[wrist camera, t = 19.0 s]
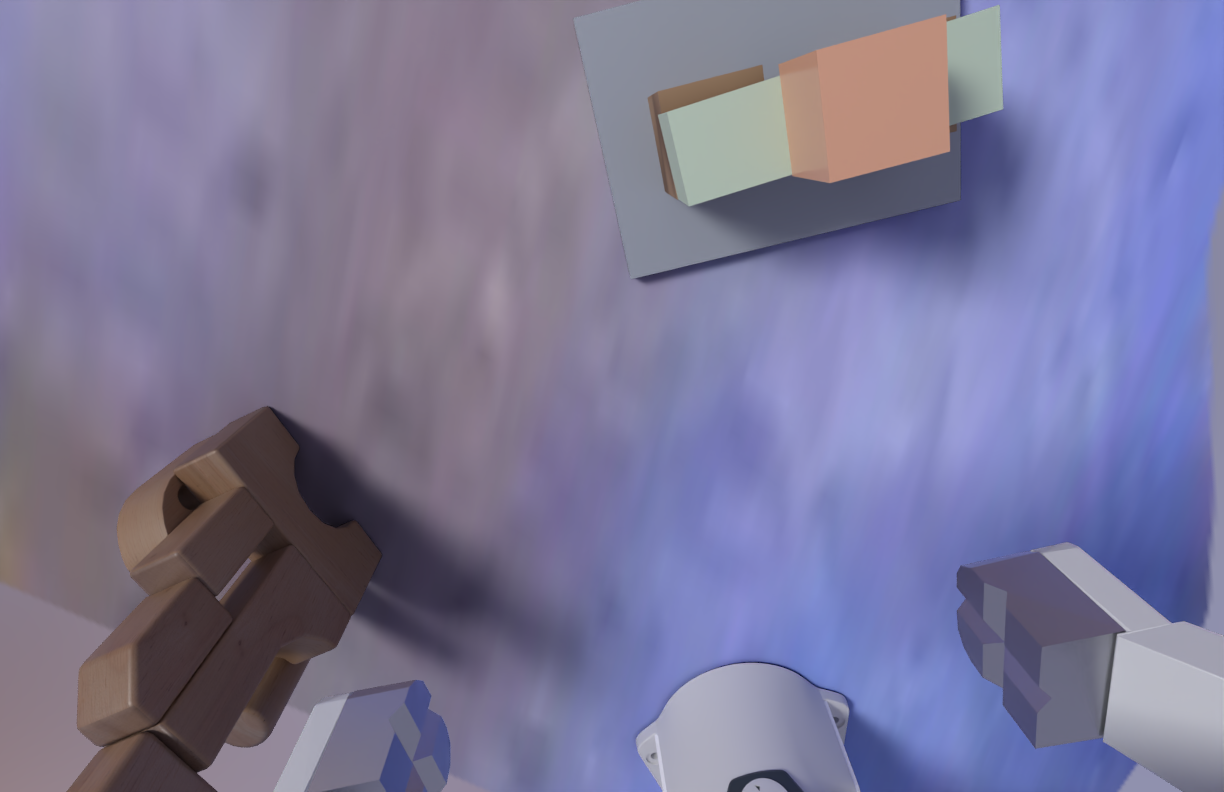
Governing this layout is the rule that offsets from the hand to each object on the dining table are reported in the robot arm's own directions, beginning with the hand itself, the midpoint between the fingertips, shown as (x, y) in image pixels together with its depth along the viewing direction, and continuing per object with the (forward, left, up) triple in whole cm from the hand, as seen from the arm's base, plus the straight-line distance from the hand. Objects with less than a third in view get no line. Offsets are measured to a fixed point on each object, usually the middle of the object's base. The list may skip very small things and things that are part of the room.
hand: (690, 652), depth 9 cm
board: (+6, -11, -31) cm, 34 cm away
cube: (+6, -11, -21) cm, 25 cm away
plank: (+6, -11, -25) cm, 28 cm away
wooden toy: (-12, +26, -31) cm, 42 cm away
